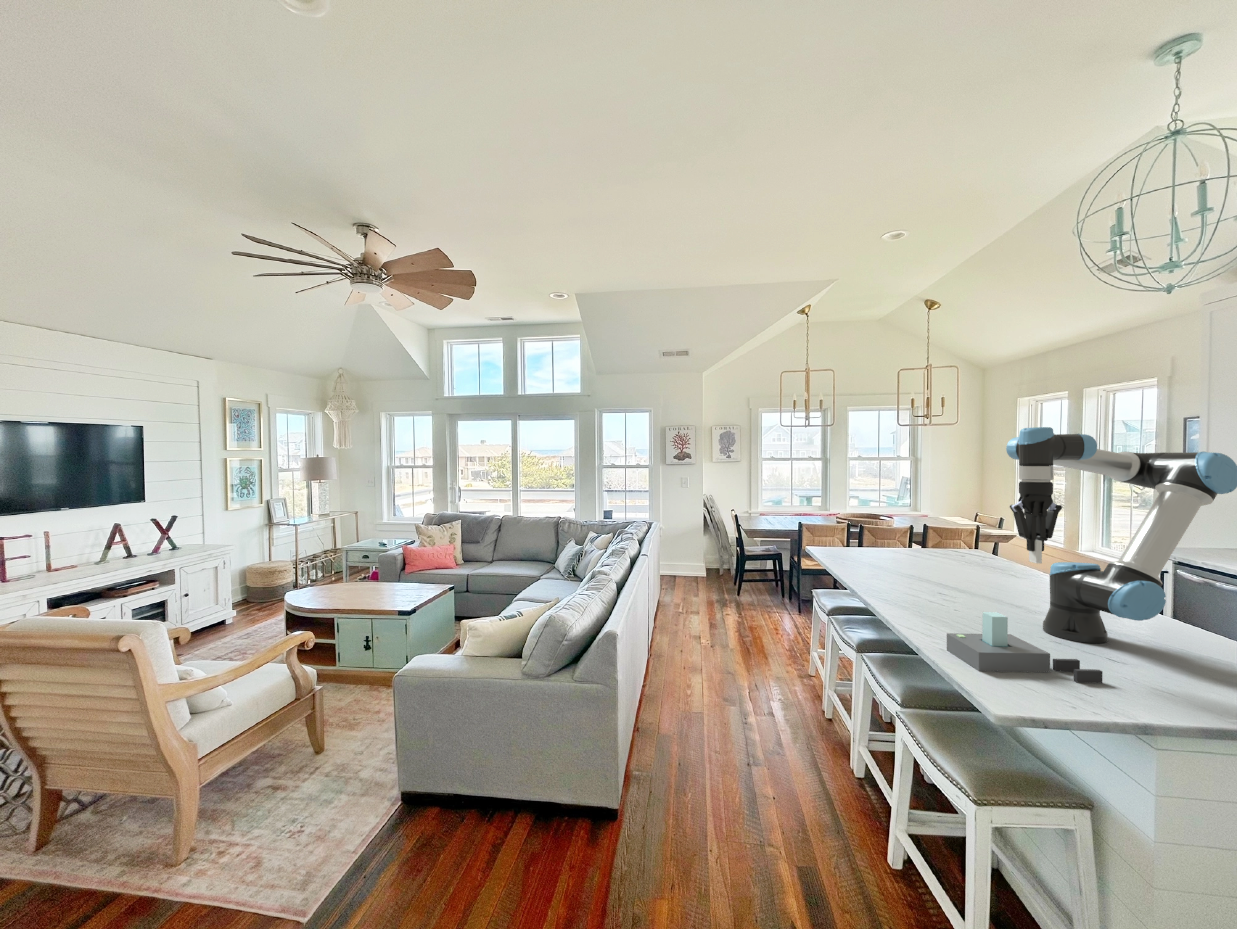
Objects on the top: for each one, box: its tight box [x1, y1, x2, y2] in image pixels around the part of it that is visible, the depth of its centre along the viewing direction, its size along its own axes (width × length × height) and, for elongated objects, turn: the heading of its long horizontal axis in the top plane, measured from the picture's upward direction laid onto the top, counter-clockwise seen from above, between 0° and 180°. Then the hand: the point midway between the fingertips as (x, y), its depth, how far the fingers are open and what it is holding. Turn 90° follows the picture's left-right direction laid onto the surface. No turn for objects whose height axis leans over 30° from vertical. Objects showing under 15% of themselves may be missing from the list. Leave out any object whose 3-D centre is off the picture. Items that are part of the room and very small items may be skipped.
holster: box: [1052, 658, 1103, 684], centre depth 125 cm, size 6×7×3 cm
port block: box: [946, 632, 1051, 673], centre depth 135 cm, size 18×14×5 cm
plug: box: [981, 611, 1009, 647], centre depth 135 cm, size 4×4×12 cm
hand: (1035, 562), depth 140 cm, fingers closed
